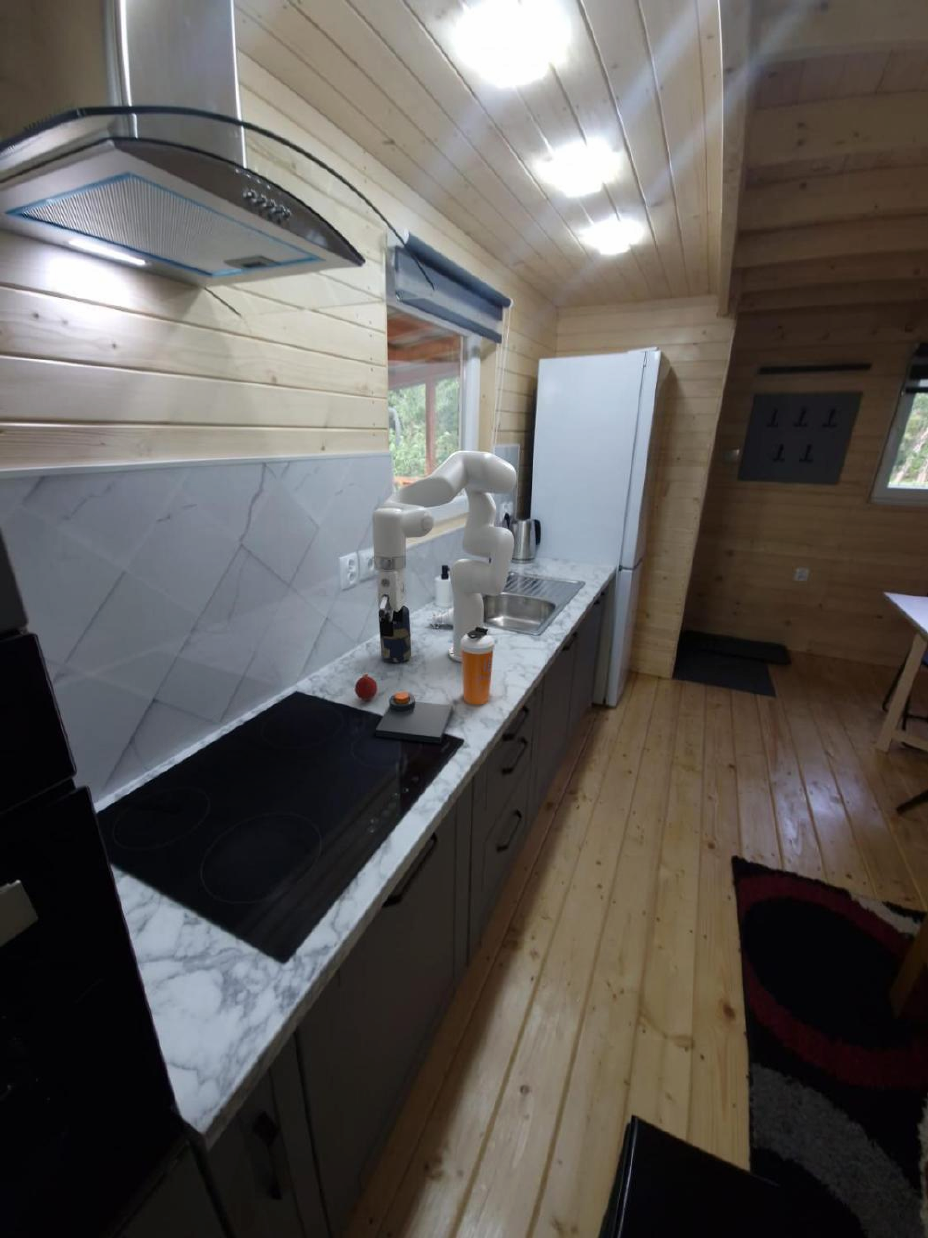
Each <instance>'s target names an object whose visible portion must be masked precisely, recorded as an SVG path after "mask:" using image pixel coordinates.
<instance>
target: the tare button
mask: <svg viewBox="0 0 928 1238" xmlns="http://www.w3.org/2000/svg"><path fill="white" fill-rule="evenodd" d="M408 693H409V692H406V691H399V692H396V693H394V695H395V702H396V703H401V704H402V703H407V702H408V701H409V694H410V693H409V694H408Z"/></svg>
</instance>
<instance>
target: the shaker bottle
mask: <svg viewBox="0 0 928 1238" xmlns="http://www.w3.org/2000/svg"><path fill="white" fill-rule="evenodd" d="M461 649H462V662H461V665H462V666H461V667H462V669H461V670H462V695H463V701H465V702H466V703H468V704H470V705H475V706H476V705H484V704H486V703H488V702H489V700H490V693H491V692H490V691H491V682H492V671H493V670H492V669H493V659H494V658H493V657H494V650H495V639H494V638H493V637H492V635H491V630H490V629H489V628H485V627H483V628H480V627H475V629H474V630H473V631H471V632H469V633H468V634H466V635H465V636H463V638H462V639H461Z"/></svg>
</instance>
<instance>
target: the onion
mask: <svg viewBox="0 0 928 1238" xmlns="http://www.w3.org/2000/svg"><path fill="white" fill-rule="evenodd" d="M377 691H378V685H377V681H376V680H374V679H373V678H372V677H370V676H369V674H368V673H363V675H362V677H360V678H359V679H358V680H357V681H356V683H355V686H354V692H355V695H356V696H357V697H358V698H359V699H360V700H363V701H366V702H367V701H369V700H371V699H373V698H374V696H375V695H376V694H377Z"/></svg>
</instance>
